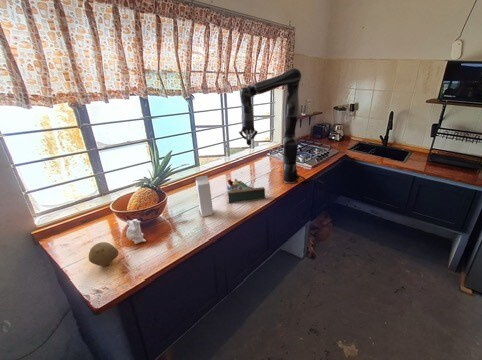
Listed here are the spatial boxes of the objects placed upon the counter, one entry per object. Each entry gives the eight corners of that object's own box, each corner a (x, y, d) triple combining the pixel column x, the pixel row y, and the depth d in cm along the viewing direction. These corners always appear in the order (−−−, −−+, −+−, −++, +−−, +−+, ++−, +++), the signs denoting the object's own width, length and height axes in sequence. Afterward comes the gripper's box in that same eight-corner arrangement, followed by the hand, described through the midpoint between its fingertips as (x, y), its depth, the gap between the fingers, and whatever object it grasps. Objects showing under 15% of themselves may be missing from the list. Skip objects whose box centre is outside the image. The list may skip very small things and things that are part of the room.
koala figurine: (151, 239, 114) (145, 217, 109) (137, 247, 108) (131, 224, 103) (139, 234, 117) (133, 212, 112) (125, 242, 111) (118, 219, 107)
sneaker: (255, 199, 151) (254, 185, 147) (224, 194, 157) (223, 180, 153) (260, 194, 158) (259, 180, 154) (231, 190, 164) (229, 176, 160)
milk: (213, 214, 135) (209, 177, 126) (202, 217, 132) (196, 179, 123) (210, 209, 140) (206, 173, 131) (199, 212, 137) (194, 175, 128)
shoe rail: (264, 196, 155) (263, 187, 152) (265, 198, 153) (264, 188, 150) (228, 201, 149) (227, 191, 146) (229, 203, 147) (228, 193, 144)
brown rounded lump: (86, 268, 96) (78, 247, 92) (109, 254, 104) (102, 234, 100) (102, 274, 93) (94, 253, 89) (124, 259, 101) (118, 240, 97)
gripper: (238, 120, 155) (239, 147, 162) (258, 119, 159) (259, 145, 166) (236, 118, 162) (238, 144, 169) (256, 118, 166) (257, 143, 172)
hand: (248, 144), depth 167 cm, fingers closed
